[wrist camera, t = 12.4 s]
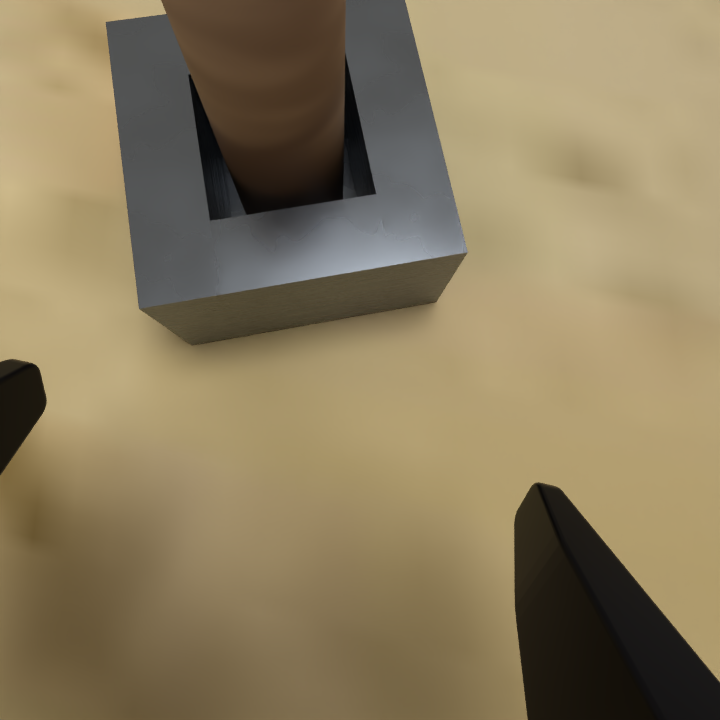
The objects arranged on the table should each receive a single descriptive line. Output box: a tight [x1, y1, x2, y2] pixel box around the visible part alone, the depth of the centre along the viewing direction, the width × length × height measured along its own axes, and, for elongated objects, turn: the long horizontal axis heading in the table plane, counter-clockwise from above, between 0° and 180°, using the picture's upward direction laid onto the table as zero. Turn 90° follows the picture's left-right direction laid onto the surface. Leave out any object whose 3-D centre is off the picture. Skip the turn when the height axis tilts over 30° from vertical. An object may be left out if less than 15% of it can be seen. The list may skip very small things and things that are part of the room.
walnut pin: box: [161, 0, 346, 215], centre depth 13 cm, size 4×4×13 cm
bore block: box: [106, 0, 468, 345], centre depth 18 cm, size 10×10×5 cm
